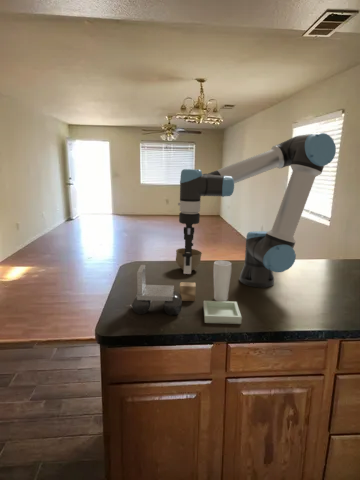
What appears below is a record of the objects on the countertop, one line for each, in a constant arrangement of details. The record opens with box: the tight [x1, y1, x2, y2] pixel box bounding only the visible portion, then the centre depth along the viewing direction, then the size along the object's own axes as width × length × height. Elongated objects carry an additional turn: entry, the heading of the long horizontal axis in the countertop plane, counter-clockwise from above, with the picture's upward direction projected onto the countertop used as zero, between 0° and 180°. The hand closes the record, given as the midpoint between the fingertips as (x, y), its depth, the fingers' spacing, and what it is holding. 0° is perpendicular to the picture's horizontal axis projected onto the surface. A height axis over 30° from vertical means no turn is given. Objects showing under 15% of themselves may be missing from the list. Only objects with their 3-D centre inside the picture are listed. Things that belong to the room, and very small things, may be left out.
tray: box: [202, 300, 243, 325], centre depth 110 cm, size 12×12×2 cm
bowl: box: [175, 247, 203, 272], centre depth 155 cm, size 13×13×10 cm
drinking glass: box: [212, 259, 232, 301], centre depth 121 cm, size 7×7×15 cm
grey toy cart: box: [131, 264, 183, 316], centre depth 111 cm, size 17×10×16 cm, turn 88°
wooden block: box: [179, 281, 197, 302], centre depth 122 cm, size 6×4×6 cm, turn 88°
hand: (187, 267), depth 120 cm, fingers open, 13 cm apart
